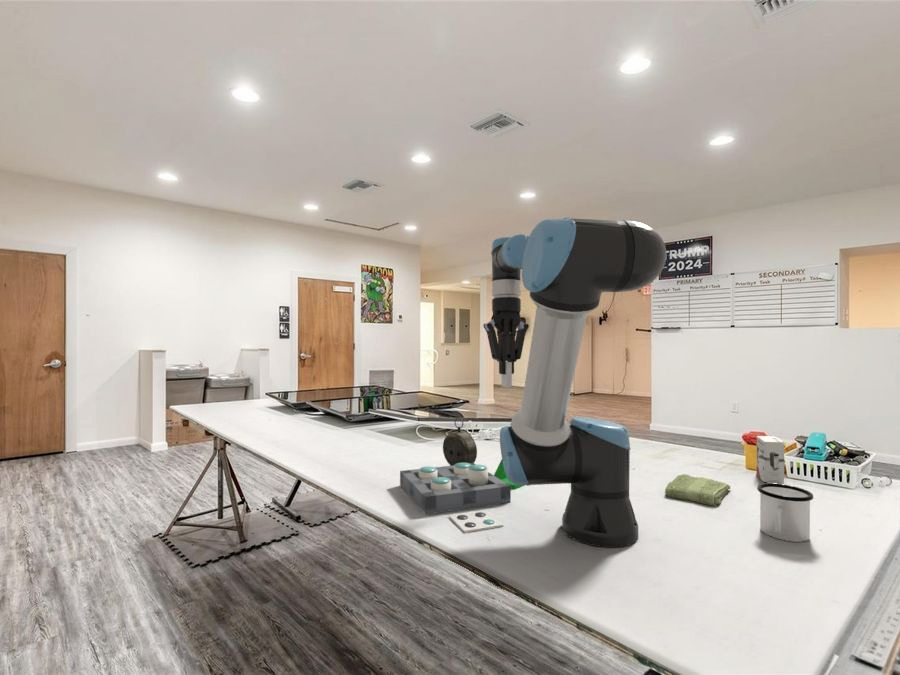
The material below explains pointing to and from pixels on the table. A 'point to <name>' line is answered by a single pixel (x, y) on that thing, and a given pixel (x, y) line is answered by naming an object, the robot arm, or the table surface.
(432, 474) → the button
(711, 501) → the washcloth
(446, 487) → the button
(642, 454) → the table surface
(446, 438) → the alarm clock
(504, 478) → the bracket
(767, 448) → the ink box
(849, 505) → the table surface
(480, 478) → the button
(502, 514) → the table surface
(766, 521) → the white oval bin
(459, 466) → the button
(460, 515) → the tile
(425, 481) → the button board
